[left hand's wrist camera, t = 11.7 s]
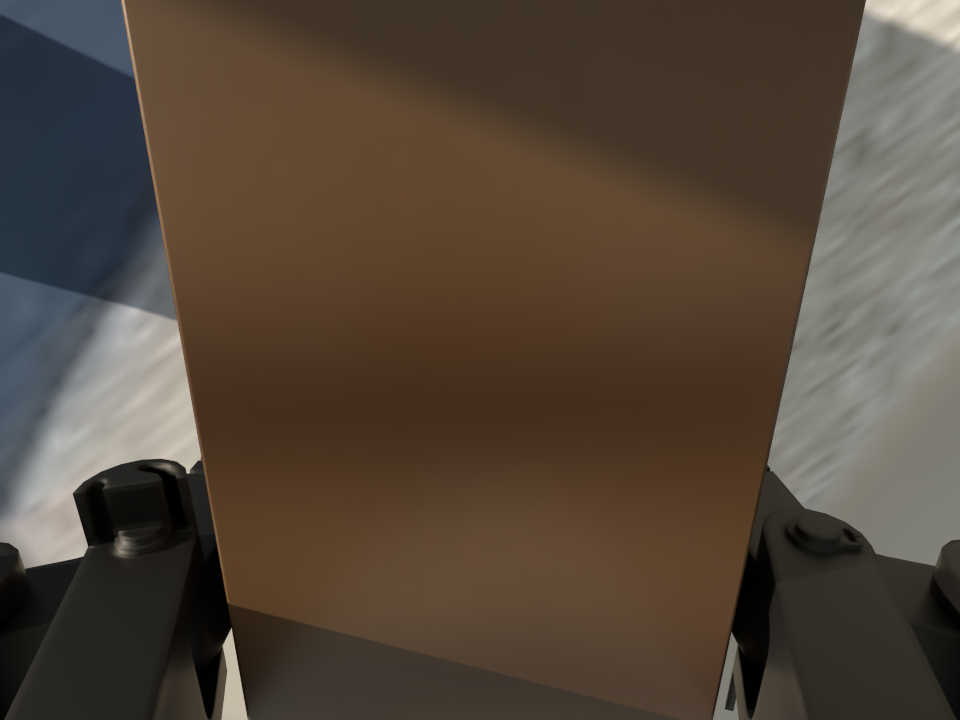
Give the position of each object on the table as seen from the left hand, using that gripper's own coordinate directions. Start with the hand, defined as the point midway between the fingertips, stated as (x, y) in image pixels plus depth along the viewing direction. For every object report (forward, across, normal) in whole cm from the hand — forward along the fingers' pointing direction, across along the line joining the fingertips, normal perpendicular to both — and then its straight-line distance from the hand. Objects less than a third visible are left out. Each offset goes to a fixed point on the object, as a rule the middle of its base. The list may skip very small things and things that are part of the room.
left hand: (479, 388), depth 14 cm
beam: (+1, 0, -35) cm, 35 cm away
